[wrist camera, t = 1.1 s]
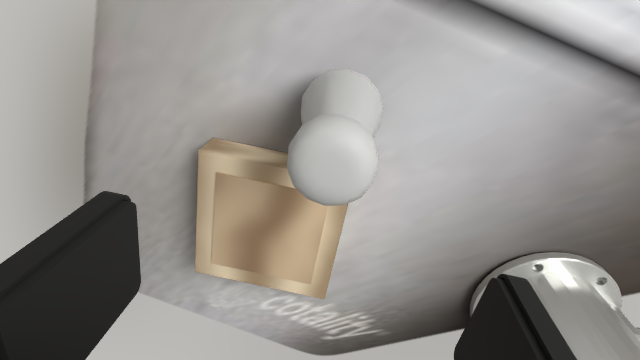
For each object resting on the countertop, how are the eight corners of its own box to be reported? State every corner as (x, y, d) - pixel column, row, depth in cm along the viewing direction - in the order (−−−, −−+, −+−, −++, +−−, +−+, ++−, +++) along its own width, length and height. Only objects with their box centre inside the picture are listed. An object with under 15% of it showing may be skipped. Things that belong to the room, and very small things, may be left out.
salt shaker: (350, 152, 29) (344, 248, 17) (291, 112, 28) (242, 185, 16) (396, 93, 27) (424, 158, 15) (333, 47, 26) (311, 78, 14)
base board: (354, 166, 30) (353, 183, 27) (327, 276, 35) (324, 300, 32) (213, 137, 30) (197, 151, 27) (207, 251, 35) (194, 272, 32)
